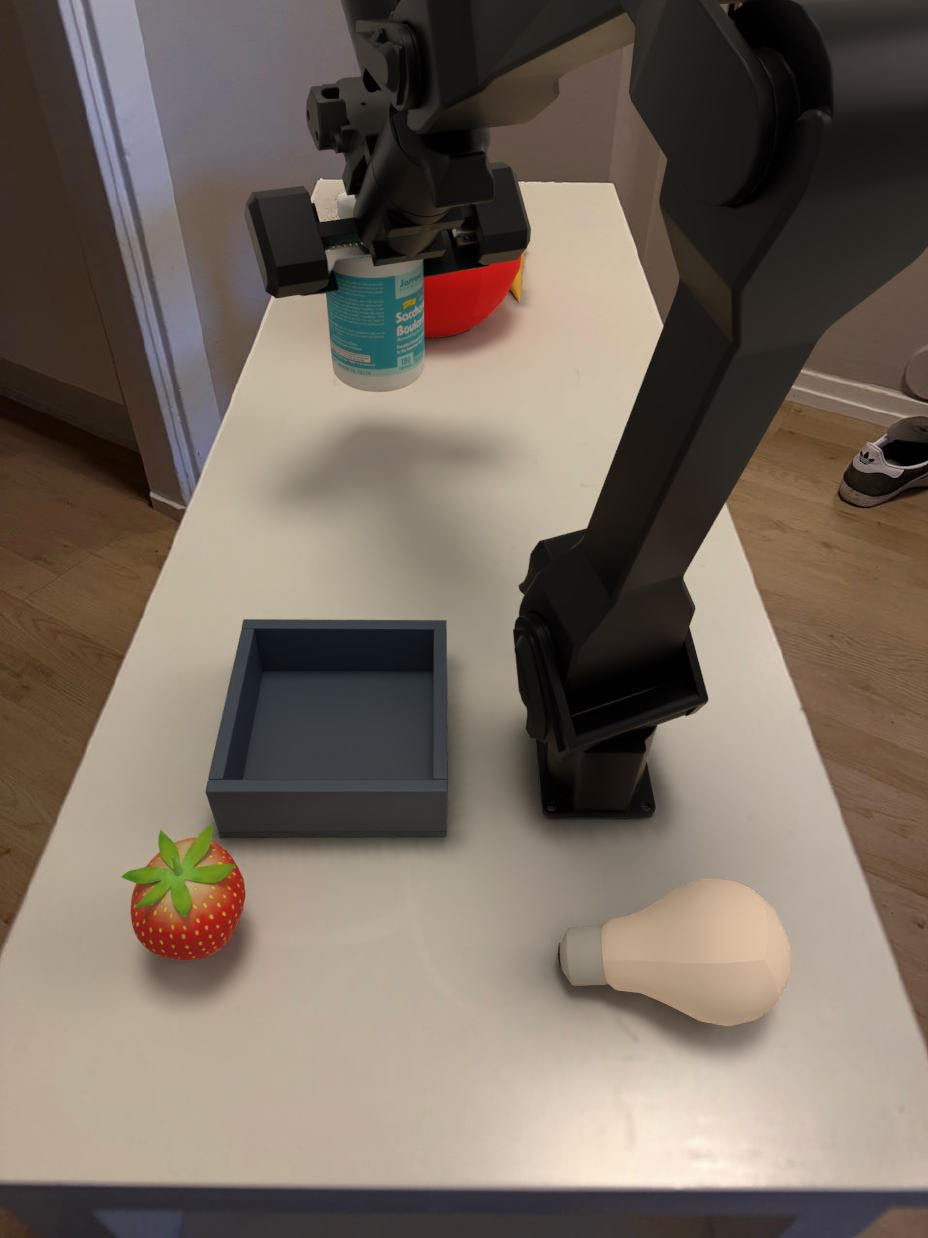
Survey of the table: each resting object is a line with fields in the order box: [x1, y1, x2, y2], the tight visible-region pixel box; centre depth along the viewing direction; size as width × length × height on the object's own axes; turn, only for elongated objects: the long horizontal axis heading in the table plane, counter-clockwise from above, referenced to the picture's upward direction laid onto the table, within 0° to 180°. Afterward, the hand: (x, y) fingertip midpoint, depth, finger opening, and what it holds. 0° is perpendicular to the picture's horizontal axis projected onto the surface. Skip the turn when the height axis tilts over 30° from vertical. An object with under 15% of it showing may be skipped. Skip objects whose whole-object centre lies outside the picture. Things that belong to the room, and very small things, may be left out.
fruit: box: [120, 823, 246, 961], centre depth 41 cm, size 5×5×8 cm
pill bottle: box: [325, 191, 425, 393], centre depth 66 cm, size 8×7×14 cm
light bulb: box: [556, 877, 792, 1027], centre depth 42 cm, size 7×7×11 cm
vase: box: [424, 256, 521, 338], centre depth 86 cm, size 18×18×19 cm
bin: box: [205, 618, 449, 838], centre depth 51 cm, size 13×13×4 cm
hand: (369, 279), depth 67 cm, fingers closed on pill bottle, 7 cm apart
